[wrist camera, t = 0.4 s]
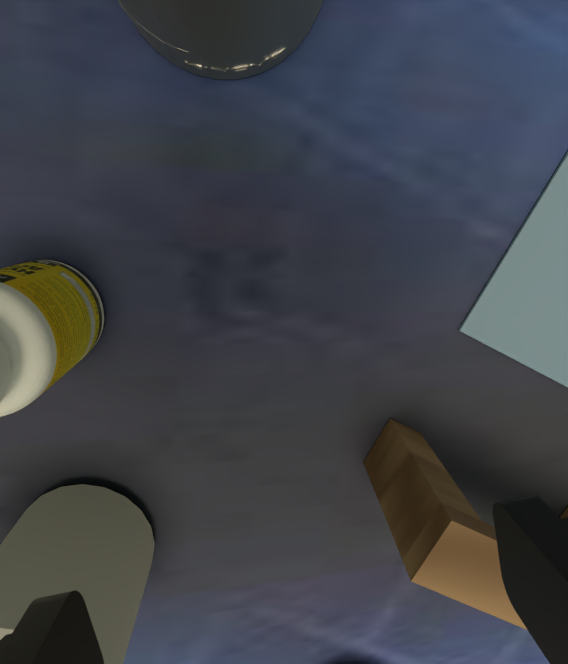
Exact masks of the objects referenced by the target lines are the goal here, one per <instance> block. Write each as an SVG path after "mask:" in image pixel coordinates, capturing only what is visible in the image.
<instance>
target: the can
mask: <svg viewBox="0 0 568 664" xmlns="http://www.w3.org/2000/svg"><path fill="white" fill-rule="evenodd" d="M154 547H155V543H154V538H153V533H152V528H151V525H150V524H149V522H148V521H147V519H146V517H145V516H144V514H143V513H142V511H141V510H140V509H139V508H138V507H137V506H136V505H135V504H133V503H132V502H131V501H130V500H129V499H128V498H126V497H125V496H123V495H121V494H119V493H116V492H114V491H112V490H110V489H107V488H105V487H99V486H92V485H86V484H79V485H71V486H64V487H59V488H57V489H55V490H53V491H50V492H48V493H46V494H44V495H41V496H40V497H39V498H38V499H37V500H36V501H35V502H34V503H33V504H32V505H31V506H29V507H28V508H27V509H26V511H25V512H24V513H23V515H22V516H21V517H20V519H19V520H18V522H17V523H16V524H15V526H14V527H13V528H12V530H11V531H10V532H9V534H8V535H7V536H6V538H5V539H4V540H3V542H2V543H1V545H0V640H1V639H2V638H3V637H4V636H5V635H6V634H11V633H12V632H13V631H14V629H15V628H16V626H17V624H18V623H19V621H20V620H21V618H22V616H23V615H24V613H25V612H26V610H27V608H28V607H29V605H30V604H31V602H32V601H34V600H35V599H37V598H42V597H46V596H51V595H56V594H61V593H65V592H70V591H75V590H76V591H78V592H80V593H81V595H82V596H83V598H84V601H85V604H86V607H87V610H88V613H89V616H90V619H91V622H92V625H93V628H94V631H95V634H96V637H97V640H98V643H99V646H100V649H101V652H102V655H103V659H104V664H123V662H124V658H125V655H126V651H127V648H128V644H129V641H130V637H131V634H132V630H133V627H134V623H135V620H136V616H137V613H138V609H139V606H140V602H141V599H142V595H143V592H144V588H145V585H146V582H147V578H148V575H149V571H150V568H151V564H152V559H153V553H154Z"/></svg>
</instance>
